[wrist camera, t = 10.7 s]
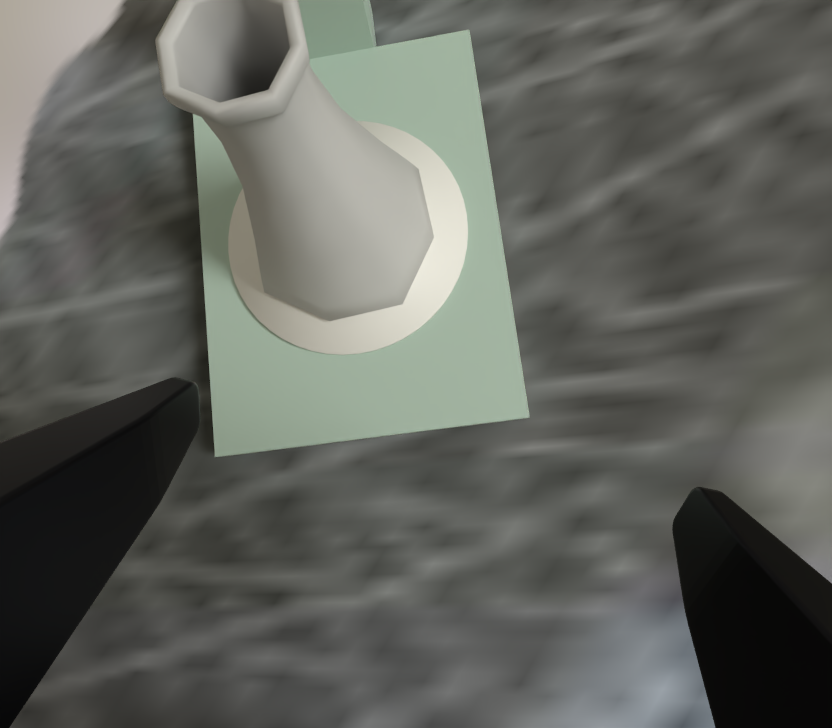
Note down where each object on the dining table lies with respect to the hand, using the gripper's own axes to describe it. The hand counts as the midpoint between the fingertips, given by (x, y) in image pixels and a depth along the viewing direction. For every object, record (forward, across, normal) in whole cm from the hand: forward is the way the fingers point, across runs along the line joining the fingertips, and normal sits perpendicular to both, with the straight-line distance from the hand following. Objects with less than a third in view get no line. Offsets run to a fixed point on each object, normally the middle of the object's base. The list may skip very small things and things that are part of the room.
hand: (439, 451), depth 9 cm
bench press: (+17, +6, -2) cm, 18 cm away
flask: (+13, +5, +1) cm, 13 cm away
